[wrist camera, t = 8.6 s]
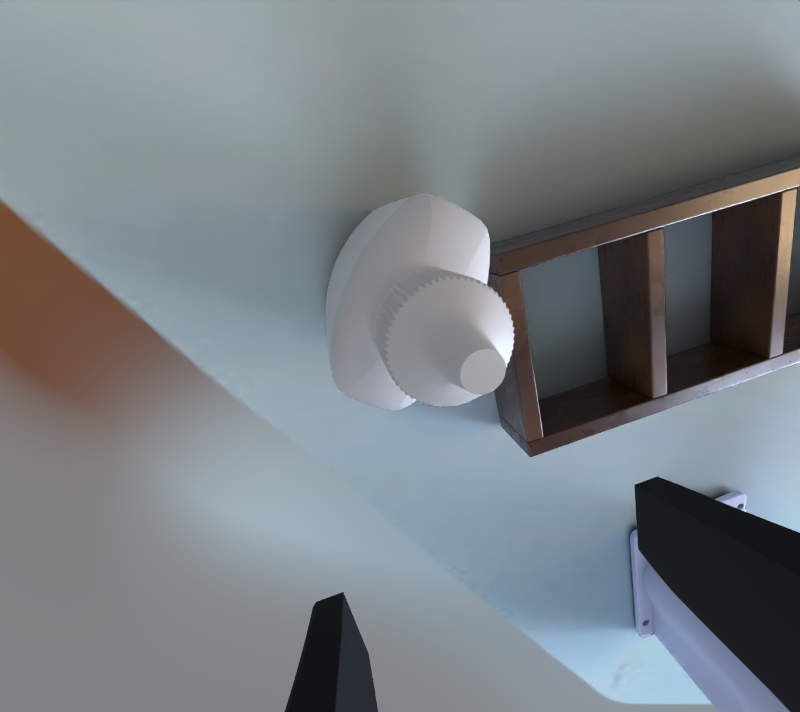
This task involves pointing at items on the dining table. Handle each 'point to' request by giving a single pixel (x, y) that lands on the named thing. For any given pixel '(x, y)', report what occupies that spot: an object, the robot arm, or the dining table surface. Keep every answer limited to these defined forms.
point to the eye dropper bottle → (416, 308)
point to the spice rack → (659, 305)
